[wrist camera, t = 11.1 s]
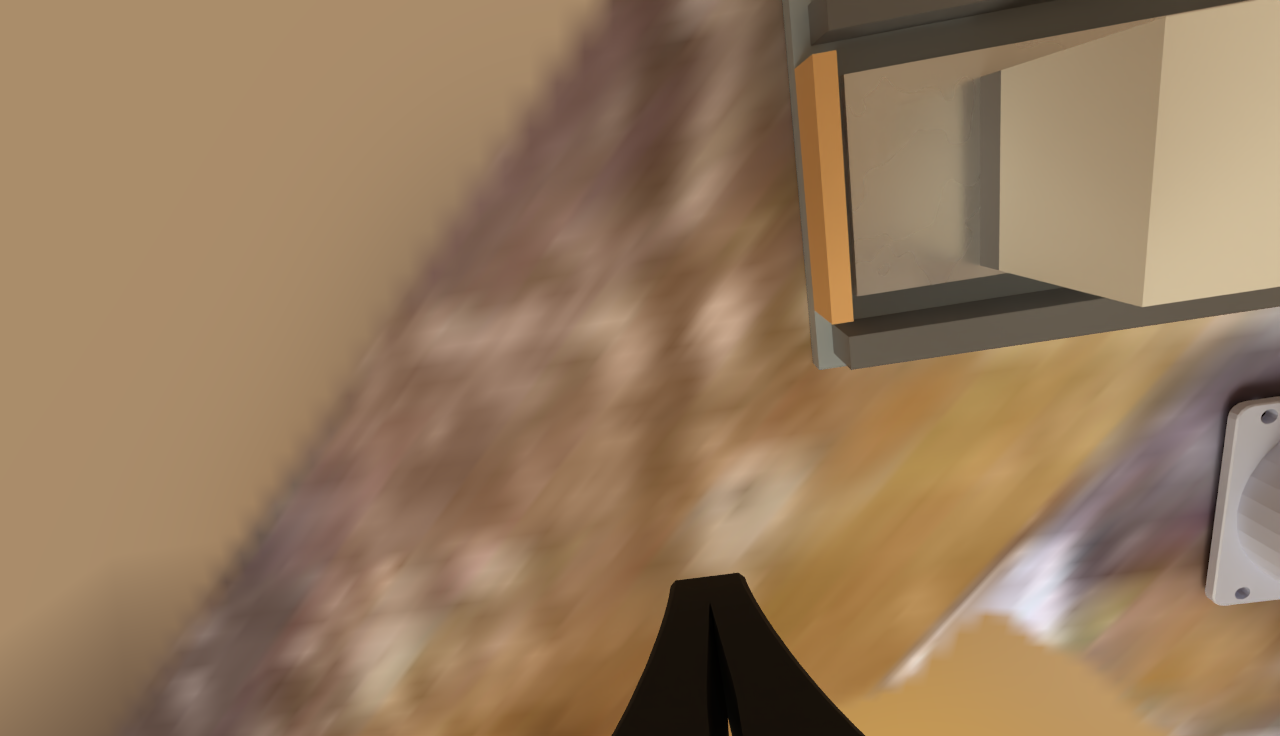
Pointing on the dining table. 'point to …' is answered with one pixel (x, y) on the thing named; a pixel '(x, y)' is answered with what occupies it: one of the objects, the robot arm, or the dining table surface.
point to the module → (1140, 160)
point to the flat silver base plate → (924, 162)
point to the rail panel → (840, 321)
